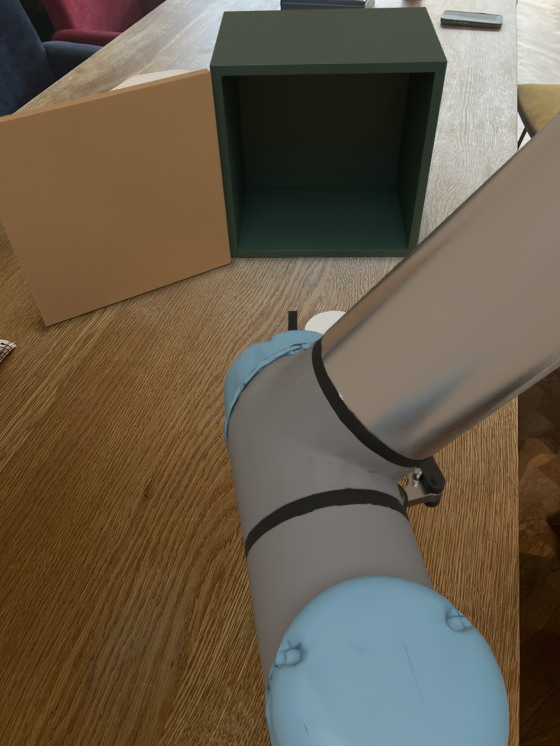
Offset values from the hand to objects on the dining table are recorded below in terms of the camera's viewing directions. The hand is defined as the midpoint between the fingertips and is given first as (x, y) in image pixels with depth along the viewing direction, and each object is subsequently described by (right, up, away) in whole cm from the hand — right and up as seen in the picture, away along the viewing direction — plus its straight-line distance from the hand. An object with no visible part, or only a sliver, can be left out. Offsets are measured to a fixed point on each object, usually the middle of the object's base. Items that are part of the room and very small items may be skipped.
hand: (331, 322), depth 52 cm
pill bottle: (0, -8, +1) cm, 8 cm away
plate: (-27, +50, +72) cm, 92 cm away
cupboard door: (-24, +9, +33) cm, 42 cm away
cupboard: (+2, +19, +42) cm, 46 cm away
